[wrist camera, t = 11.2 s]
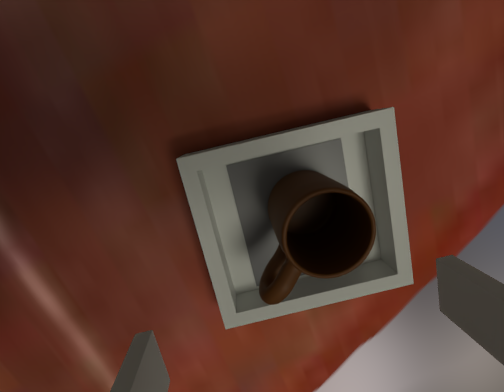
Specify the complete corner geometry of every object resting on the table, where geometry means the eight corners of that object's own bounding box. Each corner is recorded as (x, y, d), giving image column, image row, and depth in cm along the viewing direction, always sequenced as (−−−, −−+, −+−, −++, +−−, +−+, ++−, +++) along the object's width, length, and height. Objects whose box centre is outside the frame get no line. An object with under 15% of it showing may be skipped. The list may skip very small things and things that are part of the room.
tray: (226, 303, 35) (225, 329, 31) (184, 154, 31) (176, 159, 26) (391, 264, 35) (413, 283, 31) (371, 109, 31) (393, 107, 27)
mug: (284, 280, 33) (303, 338, 24) (228, 245, 32) (226, 292, 23) (351, 195, 32) (399, 222, 22) (295, 153, 30) (322, 165, 21)
